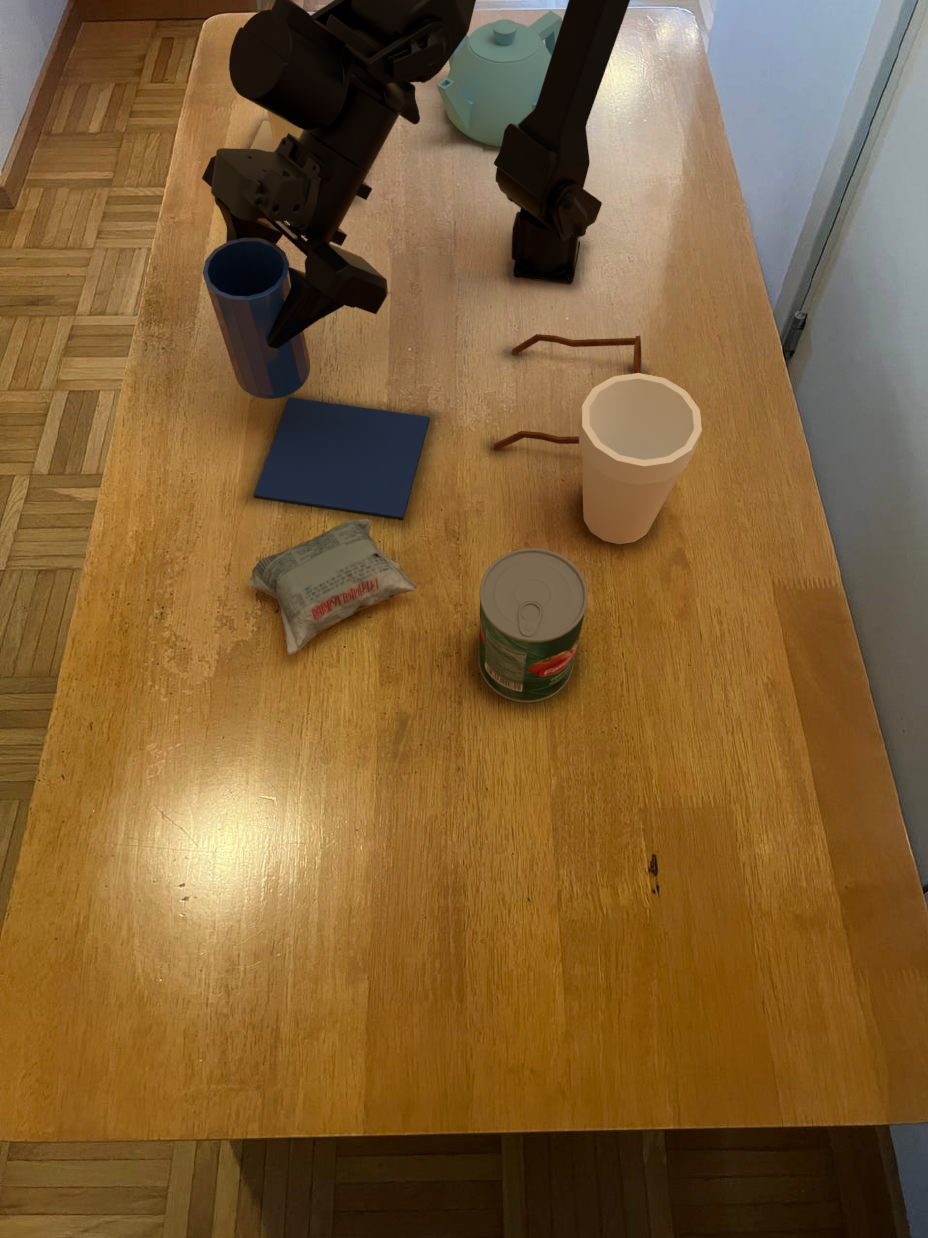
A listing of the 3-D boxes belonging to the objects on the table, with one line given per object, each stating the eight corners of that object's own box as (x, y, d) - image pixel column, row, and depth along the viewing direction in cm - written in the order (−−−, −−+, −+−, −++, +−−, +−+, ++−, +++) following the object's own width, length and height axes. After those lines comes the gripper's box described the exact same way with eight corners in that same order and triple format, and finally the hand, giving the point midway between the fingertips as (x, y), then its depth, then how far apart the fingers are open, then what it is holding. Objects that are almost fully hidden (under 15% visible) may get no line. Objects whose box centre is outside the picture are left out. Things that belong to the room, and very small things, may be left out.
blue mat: (429, 419, 90) (429, 416, 89) (403, 519, 84) (403, 517, 84) (289, 399, 91) (288, 396, 91) (254, 497, 85) (253, 494, 85)
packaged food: (417, 603, 80) (414, 572, 75) (292, 666, 77) (281, 637, 73) (371, 531, 83) (365, 498, 79) (249, 589, 81) (237, 557, 76)
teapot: (567, 158, 109) (576, 66, 99) (438, 157, 109) (436, 65, 100) (563, 81, 116) (571, -12, 107) (442, 80, 116) (440, -13, 107)
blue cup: (314, 343, 87) (293, 238, 76) (305, 400, 84) (282, 301, 73) (241, 340, 87) (210, 235, 76) (230, 397, 84) (196, 297, 73)
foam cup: (678, 486, 86) (710, 387, 74) (661, 568, 81) (692, 476, 70) (577, 464, 87) (593, 363, 76) (555, 544, 83) (569, 450, 71)
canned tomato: (485, 612, 79) (488, 540, 70) (578, 625, 79) (593, 554, 69) (471, 696, 75) (471, 632, 66) (567, 710, 75) (582, 648, 65)
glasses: (631, 467, 87) (640, 432, 82) (493, 450, 88) (494, 414, 83) (641, 364, 93) (649, 326, 89) (511, 349, 94) (514, 311, 90)
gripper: (192, 48, 69) (111, 238, 76) (338, 172, 62) (235, 369, 69) (297, 109, 79) (217, 273, 85) (434, 222, 71) (336, 392, 78)
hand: (247, 322), depth 79 cm, fingers closed on blue cup, 7 cm apart
